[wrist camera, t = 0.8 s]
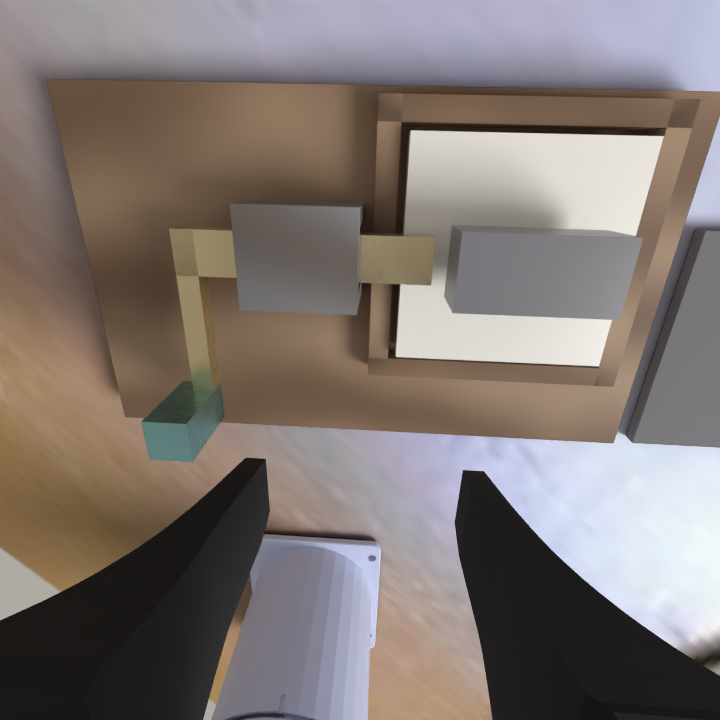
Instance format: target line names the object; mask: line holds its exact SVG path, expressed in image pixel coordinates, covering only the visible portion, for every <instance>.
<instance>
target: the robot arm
mask: <svg viewBox="0 0 720 720" xmlns="http://www.w3.org/2000/svg"><path fill="white" fill-rule="evenodd" d="M269 512H270V508H269V495H268V482H267V470H266V459H258V458H245V459H244V460H243V461H242V462H241V463H240V464H239V465H237V466H236V467H235V468H234V469H233V470H232V471H231V472H230V473H229V474H228V475H227V476H226V477H225V478H224V479H223V480H222V481H220V482H219V483H218V484H217V485H216V486H215V487H214V488H213V489H212V490H211V491H210V492H208V493H207V494H206V495H205V496H204V497H203V498H202V499H201V500H199V501H198V502H197V503H196V504H195V505H194V506H193V507H191V508H190V509H189V510H188V511H186V512H185V513H184V514H183V515H182V516H180V517H179V518H178V519H177V520H175V521H174V522H173V523H172V524H170V525H169V526H168V527H167V528H165V529H164V530H163V531H161V532H160V533H158V534H157V535H156V536H154V537H153V538H151V539H150V540H148V541H147V542H145V543H144V544H143V545H141V546H140V547H138V548H137V549H135V550H134V551H132V552H130V553H129V554H127V555H126V556H124V557H122V558H121V559H119V560H117V561H116V562H114V563H112V564H111V565H109V566H107V567H106V568H104V569H103V570H101V571H99V572H98V573H96V574H94V575H92V576H90V577H89V578H87V579H85V580H83V581H81V582H79V583H78V584H76V585H74V586H72V587H70V588H68V589H66V590H64V591H62V592H60V593H59V594H56V595H54V596H52V597H51V598H48V599H46V600H44V601H42V602H40V603H38V604H36V605H33V606H31V607H29V608H27V609H25V610H22V611H20V612H18V613H16V614H14V615H11V616H9V617H7V618H5V619H3V620H0V720H203V718H204V714H205V710H206V706H207V703H208V699H209V696H210V692H211V688H212V685H213V681H214V677H215V674H216V670H217V667H218V663H219V660H220V656H221V653H222V649H223V646H224V643H225V639H226V636H227V632H228V629H229V627H230V624H231V621H232V618H233V615H234V613H235V610H236V607H237V605H238V602H239V600H240V597H241V595H242V592H243V590H244V587H245V584H246V582H247V579H248V577H249V574H250V578H251V587H252V596H251V599H250V602H249V605H248V608H247V611H246V614H245V617H244V621H243V624H242V627H241V630H240V633H239V636H238V639H237V642H236V645H235V648H234V651H233V654H232V658H231V661H230V664H229V667H228V670H227V673H226V676H225V679H224V682H223V685H222V688H221V691H220V695H219V698H218V701H217V704H216V707H215V710H214V713H213V716H212V719H211V720H368V691H369V661H370V649H372V648H373V647H374V646H375V635H376V620H377V604H378V588H379V572H380V557H381V546H380V544H379V543H377V542H374V541H363V540H348V539H332V538H317V537H301V536H286V535H271V534H264V532H265V528H266V524H267V520H268V516H269ZM455 527H456V536H457V544H458V551H459V557H460V561H461V566H462V570H463V574H464V578H465V582H466V586H467V590H468V594H469V598H470V602H471V606H472V610H473V614H474V618H475V622H476V626H477V630H478V634H479V638H480V643H481V648H482V653H483V659H484V665H485V672H486V678H487V684H488V691H489V698H490V705H491V711H492V718H493V720H720V676H719V675H717V674H716V673H714V672H712V671H711V670H709V669H708V668H706V667H704V666H703V665H701V664H700V663H698V662H696V661H695V660H693V659H692V658H690V657H688V656H687V655H685V654H684V653H682V652H680V651H679V650H677V649H676V648H674V647H673V646H671V645H670V644H668V643H667V642H665V641H664V640H662V639H661V638H659V637H658V636H657V635H655V634H654V633H652V632H651V631H649V630H648V629H646V628H645V627H644V626H642V625H641V624H639V623H638V622H637V621H635V620H634V619H633V618H631V617H630V616H629V615H627V614H626V613H624V612H623V611H622V610H621V609H619V608H618V607H617V606H615V605H614V604H613V603H612V602H610V601H609V600H608V599H607V598H605V597H604V596H603V595H601V594H600V593H599V592H598V591H596V590H595V589H594V588H593V587H592V586H591V585H589V584H588V583H587V582H586V581H585V580H583V579H582V578H581V577H580V576H579V575H578V574H577V573H576V572H575V571H573V570H572V569H571V568H570V567H569V566H568V565H567V564H566V563H565V562H563V561H562V560H561V559H560V558H559V557H558V556H557V555H556V554H555V553H554V552H553V551H552V550H551V549H550V548H549V547H548V546H547V545H546V544H545V543H544V542H543V541H542V540H541V539H540V538H539V537H538V535H537V534H536V533H535V532H534V531H533V530H532V529H531V528H530V527H529V525H528V524H527V523H526V522H525V521H524V520H523V519H522V517H521V516H520V515H519V514H518V513H517V512H516V511H515V509H514V508H513V507H512V506H511V505H510V503H509V502H508V501H507V500H506V498H505V497H504V496H503V495H502V494H501V492H500V491H499V490H498V488H497V487H496V486H495V485H494V483H493V482H492V481H491V480H490V478H489V477H488V476H487V475H486V474H485V472H484V471H467V470H463V474H462V480H461V487H460V493H459V499H458V506H457V512H456V519H455ZM370 555H374V556H370Z"/></svg>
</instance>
